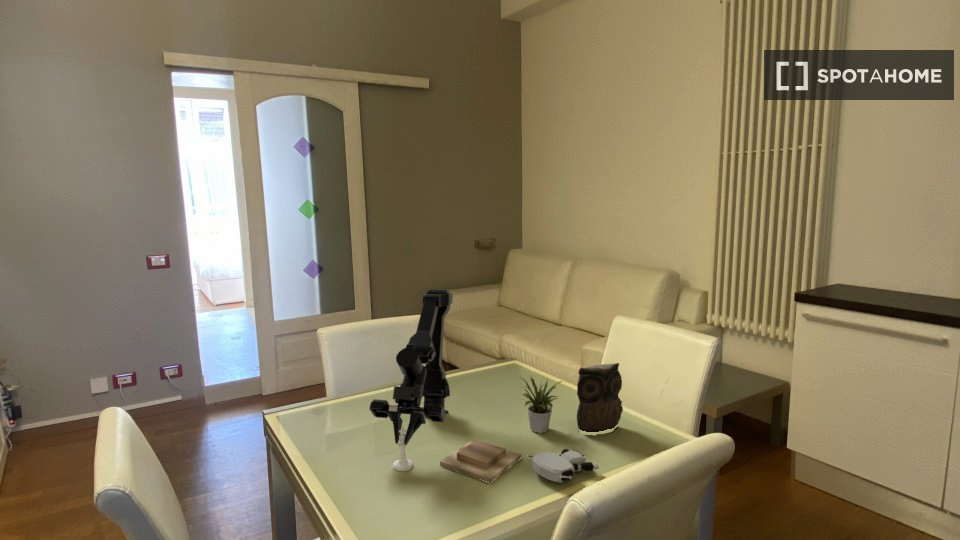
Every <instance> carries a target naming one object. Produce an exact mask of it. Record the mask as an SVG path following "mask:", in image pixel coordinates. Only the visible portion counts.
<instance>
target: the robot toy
mask: <svg viewBox="0 0 960 540" xmlns="http://www.w3.org/2000/svg"><path fill="white" fill-rule="evenodd" d="M581 453H582V452H578V451H575V450H571V449H568V448H564V449H562V450H561V452H560V454H557V453H553V452H548V451H543V452H541V453H536V454H534V455H529V454H526V455H525V457H527V458H532V459H531V468H532V469H533V470H534V471H535V472H536V473H537V474H538V475H539V476H540V477H543V478H545V479H546V480H549V481H551V482H554V483H556V482H559V483H558V484H561V482H562V483H564V482H567V481H570V480H573V479H574V476H575V472H574V471H578V472H580V471H585V472H593V471H594V470H598V469H599V468H600V467H599V464H597V463H593V462H591V461H589V462H588V461H587V460H586V459H587V456H586V455H584V454H581ZM586 461H587V462H586ZM579 470H580V471H579Z"/></svg>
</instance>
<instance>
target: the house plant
mask: <svg viewBox="0 0 960 540" xmlns="http://www.w3.org/2000/svg"><path fill="white" fill-rule="evenodd" d="M544 376H545V375H543V376H542V377H541V380H540V384H539V390H538V386H537V385H536V381H535V379H534V378H533V377H532V376H531V375H529V377H528V378H529V379H530V382H531V384H532V386H533V390H534V392H533V390H532V389H531V386H530V385H529V384H528V381H527V380H525V378H523V377H521V376H516V377H518V378H520V379H521V380H523V381H524V382H525V384H526V385H523V386H524V387H521V386H520V388H522V389H524V391H526V392H524V393H522V396H523V397H525V398H527V399H529V400H525V399H524V398H522V401H524V400H525V403H524V407H526V406H527V414H528V423H529V429H531V430H532V431H534V432H533V433H535V432H540V433H539V434H542V433H541V432H545V433H547V432H548V431H549V428H550V427H549V426H550V423H551V422H550V421H551V416H552V410H553V403H552V402H554V401H555V400H560V399H559V397H558V396H556V395H550V393H551V392H552V391H553V390H556V387H557V385H559V384H560V383H562V382H563V380H561V381H558V382H556V383H554V384H553V385H552V387H550V388H549V389H548V391H547V392H546V390H547V387H548V385H549V384H548V382H549V381H548V378H547V379H546V381H545V382H544V383H543V385H544V387H543V385H542V381H543V379H544ZM525 387H526V388H527V389H528V390H529V391H528V390H527V389H526V388H525ZM529 392H530V393H529ZM528 405H529V406H528ZM531 430H530V431H531ZM547 430H548V431H547ZM532 431H531V432H532ZM546 431H547V432H546Z"/></svg>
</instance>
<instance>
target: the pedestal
mask: <svg viewBox="0 0 960 540" xmlns="http://www.w3.org/2000/svg"><path fill="white" fill-rule="evenodd" d="M521 457H522V453H520V452H516V451H514V450H510V449H507V448H505V447H502V446H501V447H500V446H498V445H495V444H492V443H488V442H485V441H482V440H479V439H475V438H473V439H472V440H470V441H469V442H467V443H466V444H464V445H463V446H461V447H459V448H458V449H457V450H455V451H454V452H452V453H450V454H449V455H447V456H445V458H443V459H441V460H440V461H439V466H440V467H443V468H445V469H448V470H452V471H454V472H456V471H457V473H459V472H460V473H459V474H462V475H464V474H466V475H465V476H467V475H468V476H467V477H470V476H471V478H473V477H475V478H474V479H476V478H478V479H481V480H484V481H487V482H489V483H491V482H492V481H493V480H494V479H496V478H497V477H498V476H499V475H500V476H502V475H503V474H504V473H505V472H506V470H507V469H508V468H509V467H510V466H512V465H513V464H514V463H515V464H517V463H518V462H519V461H520V460H521V459H522V458H523V457H522V458H521ZM520 458H521V459H520ZM519 459H520V460H519ZM518 460H519V461H518ZM517 461H518V462H517ZM515 464H514V465H515ZM514 465H513V466H514ZM513 466H512V467H513ZM510 468H511V467H510ZM510 468H509V469H510ZM509 469H508V470H509ZM508 470H507V471H508ZM504 471H505V472H504ZM503 472H504V473H503ZM502 473H503V474H502ZM501 474H502V475H501ZM500 476H499V477H500ZM499 477H498V478H499ZM498 478H497V479H498ZM478 479H477V480H478ZM497 479H496V480H497ZM481 480H480V481H481ZM484 481H483V482H484ZM494 481H495V480H494ZM494 481H493V482H494ZM487 482H486V483H487ZM493 482H492V483H493ZM489 483H488V484H489ZM492 483H491V484H492Z"/></svg>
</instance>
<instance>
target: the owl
mask: <svg viewBox="0 0 960 540" xmlns="http://www.w3.org/2000/svg"><path fill="white" fill-rule="evenodd" d="M619 365H620V363H619V362H615V363H609V364H608V363H605V364H595V365H590V366H586V367H580V368H579V369H578V376H579V377H578V381H577V385H576V386H577V387H576V389H577V392H576V395H577V398H578V401H579V403H578V404H579V405H578V409H577V411H576V422H577V423H576V424H577V428H578V430H579V429H580V430H582V431H586V432H599V431H604V430H607V429H612V428H614V427H615V426H616V425H617V424H618V425H619V422H620V421H621V417H622V413H623V411H624V408H623V405H622V403H623V401H622V400H621V399H620V396H619V394H620V391H621V390H622V388H623V387H622V385H623V380H622V375H621V373H620V371H619V367H620V366H619Z"/></svg>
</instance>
